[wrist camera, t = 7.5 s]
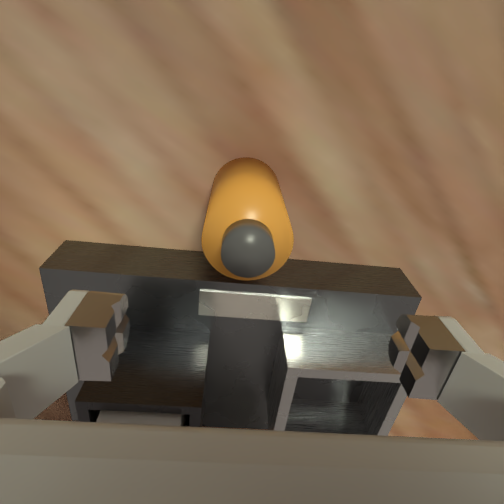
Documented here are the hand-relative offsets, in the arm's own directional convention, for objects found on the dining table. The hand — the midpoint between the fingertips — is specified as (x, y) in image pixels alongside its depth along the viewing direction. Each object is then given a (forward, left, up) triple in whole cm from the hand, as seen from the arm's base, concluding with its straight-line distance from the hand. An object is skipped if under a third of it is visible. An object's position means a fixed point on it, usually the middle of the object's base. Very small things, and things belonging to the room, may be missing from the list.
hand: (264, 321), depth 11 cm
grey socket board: (+9, -1, -10) cm, 14 cm away
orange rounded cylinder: (-1, -1, -10) cm, 10 cm away
